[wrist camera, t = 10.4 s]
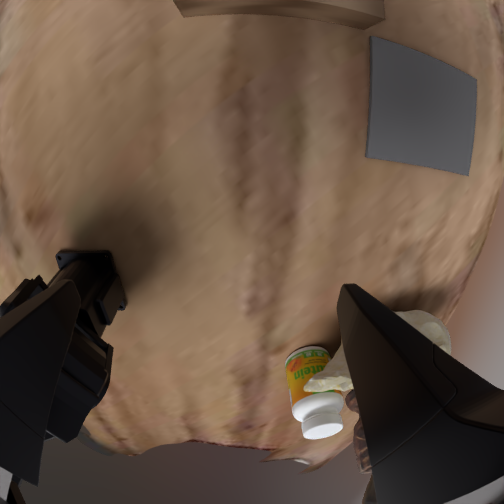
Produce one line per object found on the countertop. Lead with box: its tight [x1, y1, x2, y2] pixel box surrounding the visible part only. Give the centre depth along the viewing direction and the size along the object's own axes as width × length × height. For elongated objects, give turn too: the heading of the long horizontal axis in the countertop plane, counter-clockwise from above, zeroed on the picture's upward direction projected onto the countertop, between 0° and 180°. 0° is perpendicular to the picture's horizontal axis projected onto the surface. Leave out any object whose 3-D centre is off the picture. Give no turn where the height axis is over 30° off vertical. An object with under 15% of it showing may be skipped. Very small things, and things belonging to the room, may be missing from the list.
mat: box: [365, 36, 477, 176], centre depth 16 cm, size 12×10×1 cm
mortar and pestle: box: [345, 390, 377, 504], centre depth 27 cm, size 12×9×20 cm
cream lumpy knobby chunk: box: [303, 310, 451, 392], centre depth 25 cm, size 15×7×15 cm
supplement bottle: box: [285, 346, 344, 439], centre depth 26 cm, size 5×5×10 cm
